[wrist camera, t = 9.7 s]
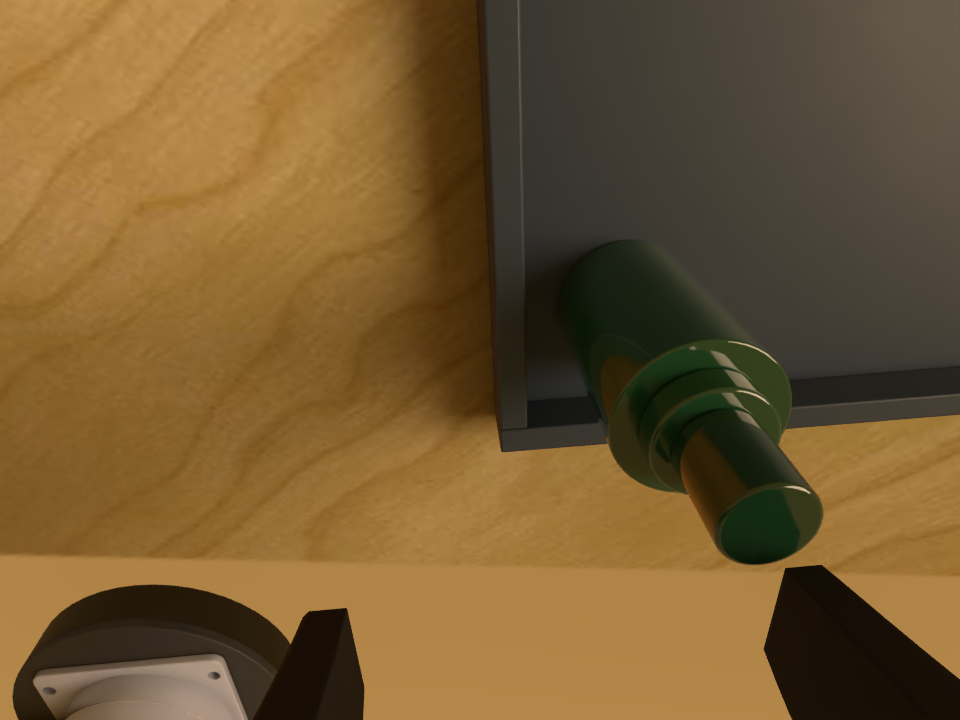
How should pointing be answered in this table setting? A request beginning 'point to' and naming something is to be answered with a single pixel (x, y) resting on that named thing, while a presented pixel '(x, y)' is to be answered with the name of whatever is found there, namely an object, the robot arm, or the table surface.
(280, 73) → the table surface
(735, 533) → the bottle
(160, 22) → the table surface
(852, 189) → the tray
